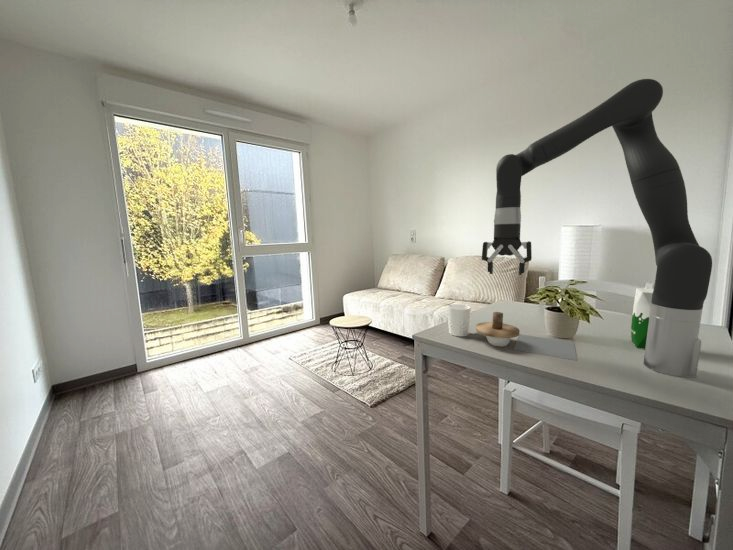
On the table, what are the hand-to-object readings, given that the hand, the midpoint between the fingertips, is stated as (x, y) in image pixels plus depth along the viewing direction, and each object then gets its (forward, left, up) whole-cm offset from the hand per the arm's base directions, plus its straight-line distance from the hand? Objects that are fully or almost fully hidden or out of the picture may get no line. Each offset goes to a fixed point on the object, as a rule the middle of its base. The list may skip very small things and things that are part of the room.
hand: (505, 274), depth 96 cm
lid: (+1, +2, -19) cm, 19 cm away
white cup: (+15, -2, -23) cm, 28 cm away
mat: (-12, -2, -23) cm, 26 cm away
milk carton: (-40, -19, -23) cm, 50 cm away
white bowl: (+1, +3, -23) cm, 24 cm away
